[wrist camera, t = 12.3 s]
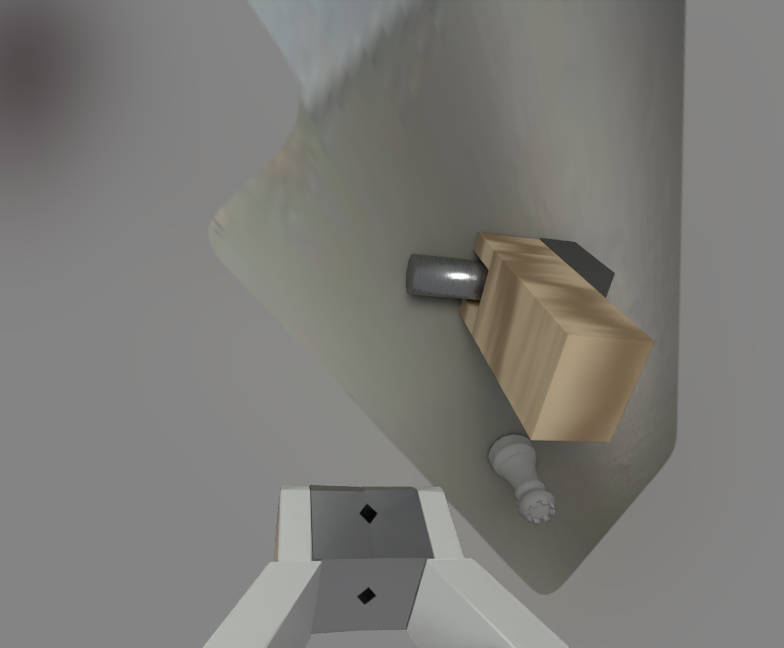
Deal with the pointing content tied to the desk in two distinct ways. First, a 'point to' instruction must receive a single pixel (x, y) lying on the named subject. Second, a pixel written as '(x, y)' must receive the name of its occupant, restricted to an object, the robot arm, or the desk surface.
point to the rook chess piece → (522, 476)
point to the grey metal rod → (445, 277)
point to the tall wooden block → (553, 342)
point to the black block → (582, 263)
